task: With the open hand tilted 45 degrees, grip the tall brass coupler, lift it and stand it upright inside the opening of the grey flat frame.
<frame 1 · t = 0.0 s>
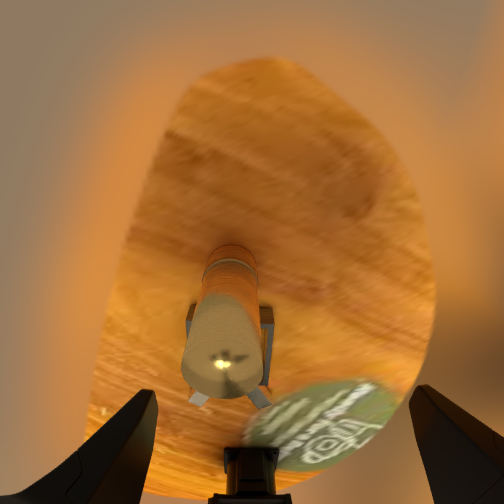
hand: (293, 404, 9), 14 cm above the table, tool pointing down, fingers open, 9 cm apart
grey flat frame: (230, 339, 26), on the table
coupler: (231, 268, 23), on the table
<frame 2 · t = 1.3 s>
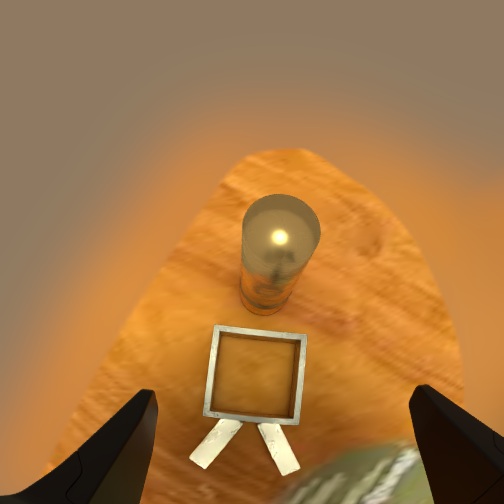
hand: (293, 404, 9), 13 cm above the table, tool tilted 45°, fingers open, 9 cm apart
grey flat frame: (254, 376, 22), on the table
coupler: (263, 292, 25), on the table
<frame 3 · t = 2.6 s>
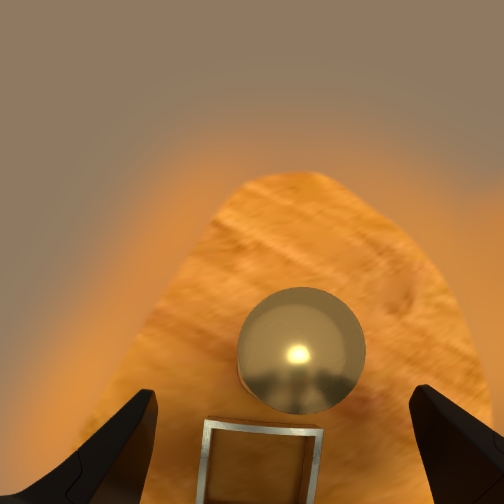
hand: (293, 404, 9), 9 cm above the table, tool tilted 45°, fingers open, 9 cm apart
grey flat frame: (256, 469, 16), on the table
coupler: (267, 369, 18), on the table
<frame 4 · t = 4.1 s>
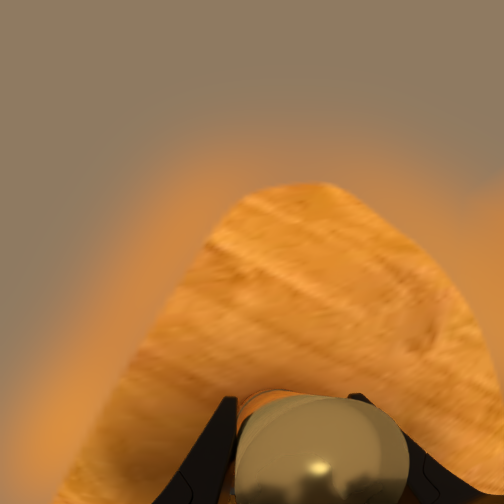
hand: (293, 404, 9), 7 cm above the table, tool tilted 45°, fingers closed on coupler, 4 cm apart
coupler: (271, 421, 15), on the table, touching gripper
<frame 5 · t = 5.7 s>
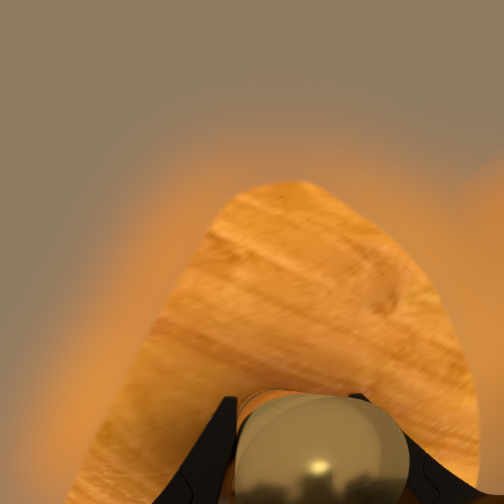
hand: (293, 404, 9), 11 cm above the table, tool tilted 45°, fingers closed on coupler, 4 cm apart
coupler: (271, 421, 15), point 5 cm above the table, touching gripper
when the fingers open (8 cm above the table, at t = 7.2 s): coupler drops 1 cm, resting in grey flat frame.
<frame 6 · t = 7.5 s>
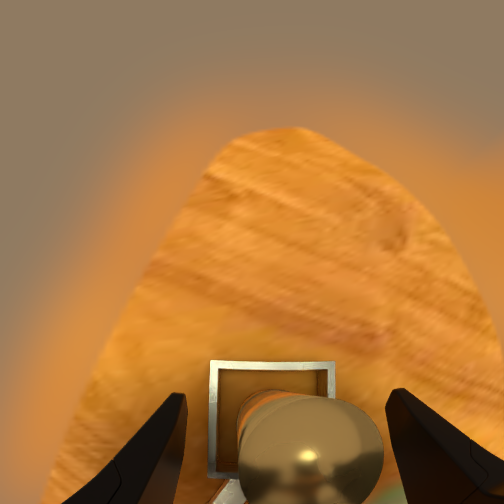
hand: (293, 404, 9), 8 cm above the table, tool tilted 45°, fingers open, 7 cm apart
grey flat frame: (268, 418, 16), on the table
coupler: (269, 419, 16), resting in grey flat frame
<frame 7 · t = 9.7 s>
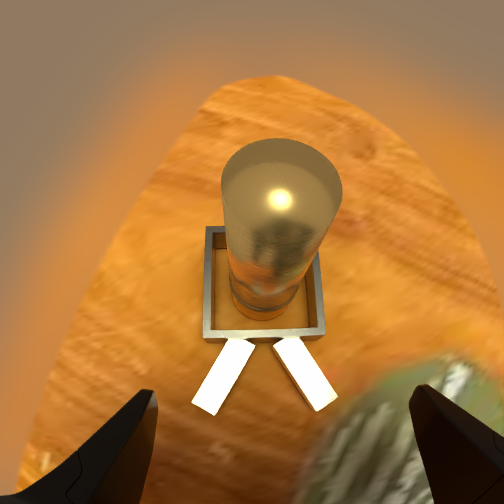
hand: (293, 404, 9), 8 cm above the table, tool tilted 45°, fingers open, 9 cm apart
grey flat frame: (261, 290, 19), on the table
coupler: (261, 291, 19), resting in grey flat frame
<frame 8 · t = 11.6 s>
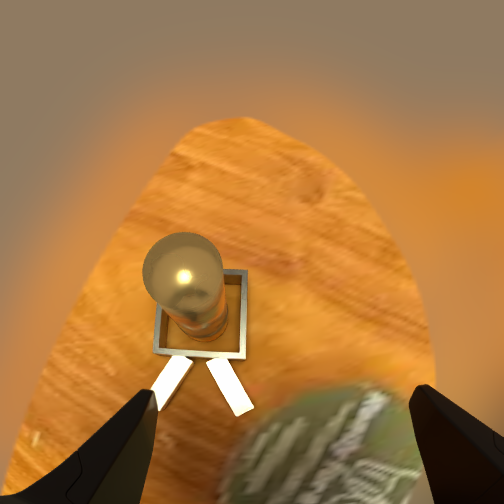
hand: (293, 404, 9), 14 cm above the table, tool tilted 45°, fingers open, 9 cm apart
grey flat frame: (203, 317, 24), on the table
coupler: (204, 318, 24), resting in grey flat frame
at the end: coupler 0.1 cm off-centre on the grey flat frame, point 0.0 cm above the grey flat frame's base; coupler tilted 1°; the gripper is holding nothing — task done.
